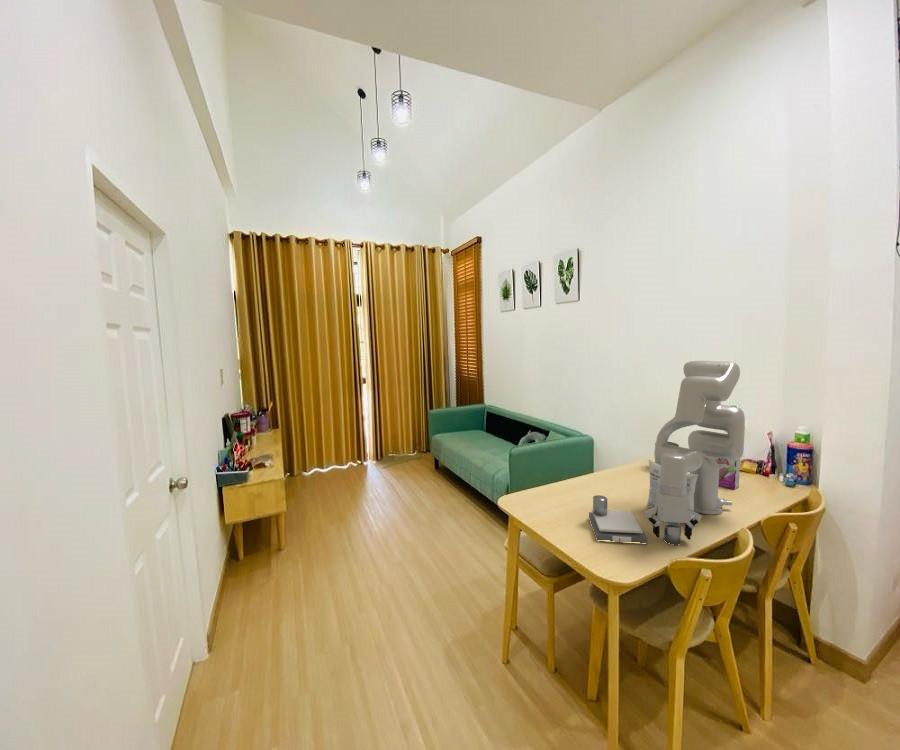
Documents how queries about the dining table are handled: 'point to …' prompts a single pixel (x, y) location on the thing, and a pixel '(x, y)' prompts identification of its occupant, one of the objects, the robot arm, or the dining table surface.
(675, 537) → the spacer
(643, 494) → the dining table surface
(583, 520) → the dining table surface
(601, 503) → the cylinder
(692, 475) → the pouch
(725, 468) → the candy bar box
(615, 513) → the scale
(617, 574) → the dining table surface
